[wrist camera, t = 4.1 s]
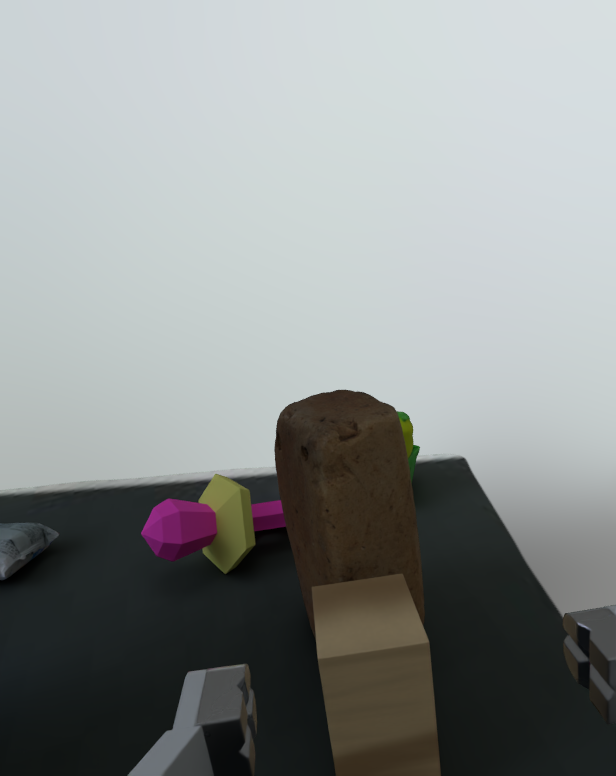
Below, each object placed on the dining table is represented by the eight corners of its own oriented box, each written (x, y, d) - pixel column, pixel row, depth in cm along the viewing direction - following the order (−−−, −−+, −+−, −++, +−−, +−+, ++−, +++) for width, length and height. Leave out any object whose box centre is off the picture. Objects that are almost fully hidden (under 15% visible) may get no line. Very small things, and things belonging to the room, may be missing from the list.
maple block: (444, 811, 26) (429, 641, 24) (343, 827, 26) (317, 658, 23) (417, 719, 32) (402, 572, 29) (333, 732, 31) (311, 586, 29)
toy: (328, 556, 52) (313, 460, 54) (163, 592, 41) (155, 470, 44) (278, 559, 59) (267, 475, 62) (128, 590, 49) (123, 486, 51)
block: (439, 665, 35) (417, 404, 30) (349, 711, 33) (309, 434, 28) (365, 585, 45) (339, 378, 40) (291, 615, 42) (254, 398, 38)
